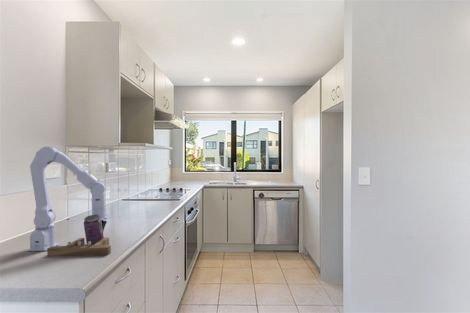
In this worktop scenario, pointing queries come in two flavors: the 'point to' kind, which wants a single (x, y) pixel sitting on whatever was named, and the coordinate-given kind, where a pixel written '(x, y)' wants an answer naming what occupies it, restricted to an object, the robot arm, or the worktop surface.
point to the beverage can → (93, 229)
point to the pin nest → (81, 248)
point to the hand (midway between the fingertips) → (99, 237)
